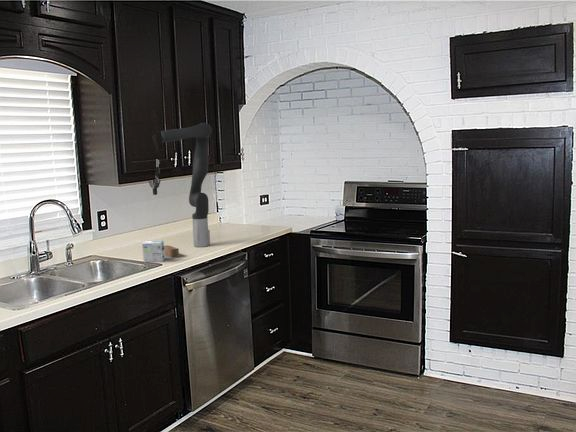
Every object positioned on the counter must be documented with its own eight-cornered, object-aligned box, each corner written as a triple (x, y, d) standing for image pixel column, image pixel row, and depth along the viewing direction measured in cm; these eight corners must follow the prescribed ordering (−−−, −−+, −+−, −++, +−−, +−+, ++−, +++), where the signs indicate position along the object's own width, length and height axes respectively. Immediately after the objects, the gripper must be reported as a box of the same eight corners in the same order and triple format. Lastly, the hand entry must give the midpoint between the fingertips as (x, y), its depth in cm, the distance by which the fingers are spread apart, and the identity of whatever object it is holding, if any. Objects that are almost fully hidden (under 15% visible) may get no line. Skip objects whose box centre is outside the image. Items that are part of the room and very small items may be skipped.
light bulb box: (165, 259, 316) (163, 240, 314) (162, 261, 309) (161, 242, 308) (145, 259, 316) (144, 240, 314) (143, 262, 309) (141, 243, 307)
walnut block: (168, 245, 330) (178, 248, 320) (168, 252, 330) (179, 256, 320) (161, 246, 327) (171, 249, 317) (161, 254, 328) (171, 257, 317)
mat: (175, 252, 332) (175, 252, 332) (186, 256, 321) (186, 255, 321) (156, 255, 325) (156, 255, 325) (167, 259, 314) (167, 259, 314)
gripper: (163, 166, 337) (165, 194, 339) (154, 165, 347) (156, 193, 350) (152, 166, 332) (154, 196, 335) (142, 166, 342) (144, 194, 345)
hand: (155, 194), depth 342 cm, fingers closed
